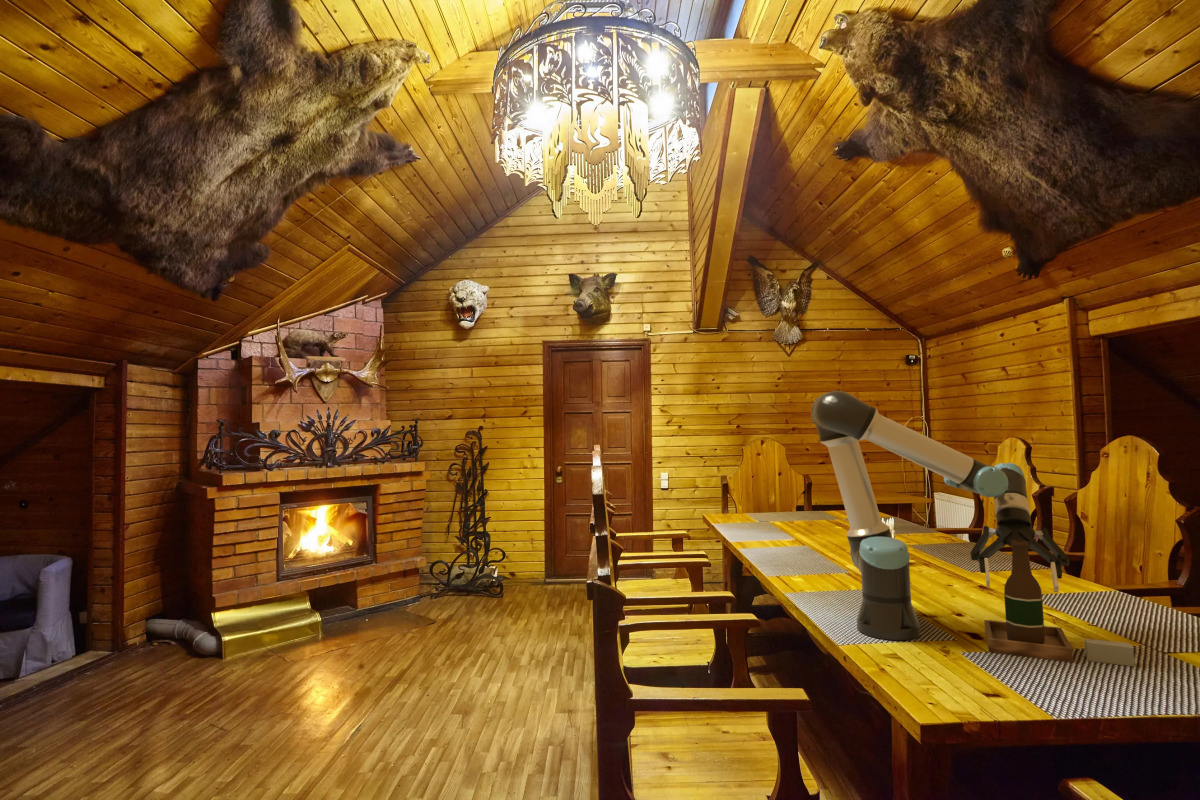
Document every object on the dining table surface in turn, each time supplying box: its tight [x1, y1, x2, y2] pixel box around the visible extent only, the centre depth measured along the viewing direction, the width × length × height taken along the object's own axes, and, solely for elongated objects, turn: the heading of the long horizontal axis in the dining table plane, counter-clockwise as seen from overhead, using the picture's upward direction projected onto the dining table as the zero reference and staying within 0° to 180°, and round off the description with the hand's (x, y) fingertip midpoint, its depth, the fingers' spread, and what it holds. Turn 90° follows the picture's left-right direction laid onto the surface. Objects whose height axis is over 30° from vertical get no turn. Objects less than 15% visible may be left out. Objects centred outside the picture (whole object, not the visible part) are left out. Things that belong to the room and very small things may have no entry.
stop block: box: [1084, 638, 1136, 667], centre depth 138 cm, size 8×3×4 cm, turn 61°
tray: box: [983, 619, 1075, 663], centre depth 148 cm, size 16×16×3 cm
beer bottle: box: [1003, 540, 1045, 644], centre depth 149 cm, size 8×8×24 cm
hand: (1021, 586), depth 148 cm, fingers open, 13 cm apart
